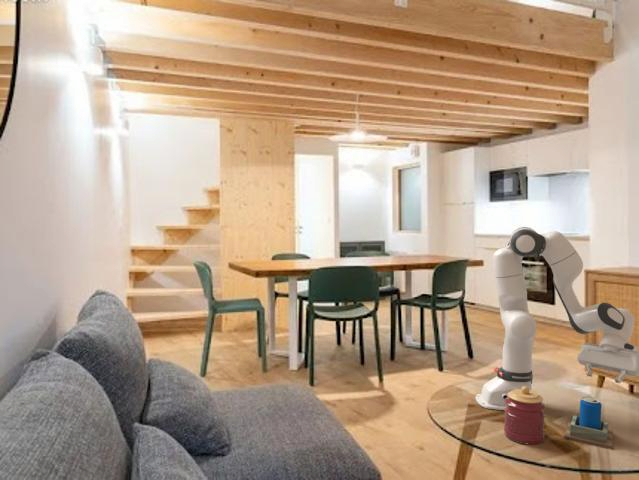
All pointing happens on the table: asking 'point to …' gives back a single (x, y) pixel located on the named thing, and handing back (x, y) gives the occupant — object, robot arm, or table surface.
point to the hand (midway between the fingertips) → (602, 378)
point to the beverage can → (590, 413)
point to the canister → (524, 416)
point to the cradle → (589, 433)
